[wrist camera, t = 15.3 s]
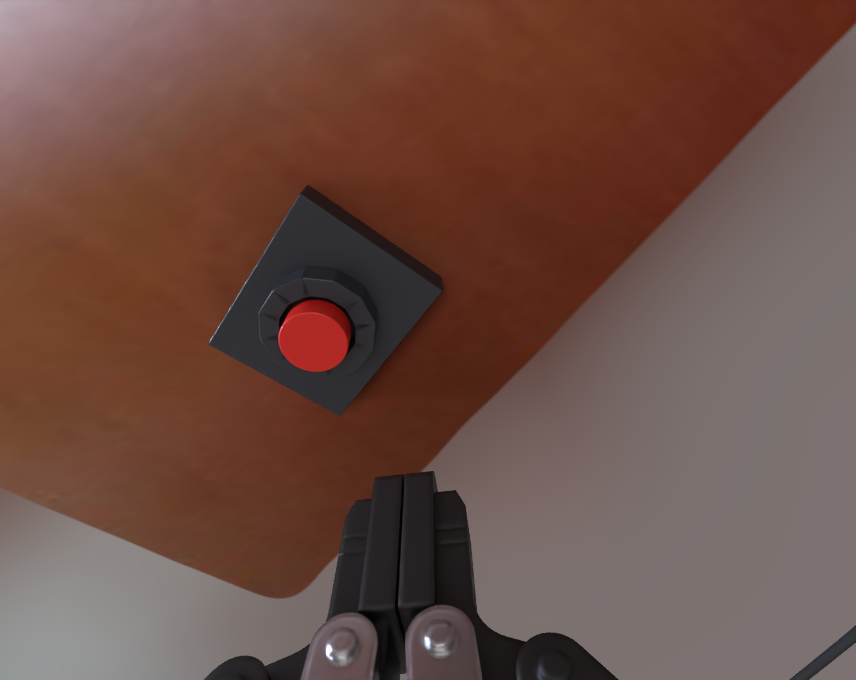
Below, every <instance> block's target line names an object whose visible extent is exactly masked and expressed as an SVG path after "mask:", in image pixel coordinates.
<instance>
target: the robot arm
mask: <svg viewBox="0 0 856 680" xmlns="http://www.w3.org/2000/svg"><path fill="white" fill-rule="evenodd" d="M339 552H340V555H339V556H338V562H337V568H336V573H335V579H334V584H333V590H332V596H331V601H330V607H329V613H328V617H327V620H326V622H325V623H324V624H323V625H322V626H321V627H320V628H319V629H318V631H317V632H316V633H315V635H314V637H313V639H312V641H311V643H310V644H309V645H307V646H306V647H305V648H303V649H302V650H300V651H299V652H296V653H294V654H292V655H290V656H288V657H285V658H283V659H281V660H278V661H276V662H274V663H271V664H269V665H267V666H264V665H263V663H262V662H261V661H260V660H258V659H257V658H254V657H251V656H239V657H235V658H232V659H229V660H227V661H226V662H224V663H222V664H221V665H219V666H218V667H217V668H216V669H214V670H213V671H212V672H211V673H210V674H209V675H208V676H207V677H206V678H205V679H204V680H400V674H405V673H406V678H407V680H618V679H617V678H616V677H615V676H614V675H613V674H612V673H610V672H609V671H608V670H607V669H606V668H605V667H604V666H603V665H602V664H600V663H599V662H598V661H597V660H596V659H595V658H594V657H593V656H592V655H590V654H589V653H588V652H587V651H586V650H585V649H584V648H583V647H582V646H580V645H579V644H578V643H577V642H575V641H574V640H573V639H571V638H569V637H567V636H565V635H562V634H558V633H541V634H538V635H536V636H534V637H532V638H530V639H529V640H528V641H527V642H525V641H521V640H517V639H513V638H509V637H506V636H503V635H501V634H498V633H497V632H494V631H493V630H491V629H490V628H489V627H487V625H486V624H485V623H484V622H483V621H482V620H481V618H480V617H479V615H478V613H477V606H476V595H475V584H474V573H473V562H472V551H471V542H470V535H469V528H468V520H467V513H466V506H465V504H464V503H463V501H462V499H461V498H460V496H459V495H458V493H457V492H456V490H453V491H443V492H438V491H437V485H436V479H435V474H434V471H430V472H420V473H410V474H405V475H404V474H402V475H392V476H382V477H376V478H375V480H374V487H373V495H372V499H365V500H356V502H355V503H354V505H353V506H352V508H351V510H350V511H349V513H348V514H347V516H346V517H345V523H344V528H343V534H342V540H341V545H340V551H339ZM854 643H856V626H854V627H853V628H852V629H851V630H850V631H849V632H847V633H846V634H845V635H844V636H843V637H841V638H840V639H839V640H838V641H837V642H836V643H834V644H833V645H832V646H830V647H829V648H828V649H827V650H826V651H824V652H823V653H822V654H821V655H819V656H818V657H817V658H816V659H814V660H813V661H812V662H811V663H810V664H808V665H807V666H806V667H805V668H804V669H802V670H801V671H800V672H798V673H797V674H796V675H795V676H793V677H792V678H791V679H790V680H809V679H810V678H812V677H813V676H814V675H815V674H817V673H818V672H819V671H820V670H822V669H823V668H824V667H825V666H827V665H828V664H829V663H831V662H832V661H833V660H834V659H836V658H837V657H838V656H839V655H841V654H842V653H843V652H844V651H846V650H847V649H848V648H849V647H851V646H852V645H853V644H854Z"/></svg>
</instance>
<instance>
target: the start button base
mask: <svg viewBox="0 0 856 680" xmlns="http://www.w3.org/2000/svg"><path fill="white" fill-rule="evenodd" d="M442 291H443V290H442V279H441V277H440V276H439V275H437V274H436V273H434V272H433V271H431V270H430V269H429V268H427V267H426V266H424V265H423V264H421V263H420V262H418V261H417V260H416V259H414V258H413V257H411V256H410V255H408V254H407V253H406V252H404V251H403V250H401V249H400V248H398V247H397V246H395V245H394V244H393V243H391V242H390V241H388V240H387V239H385V238H384V237H382V236H381V235H380V234H378V233H377V232H375V231H374V230H372V229H371V228H369V227H368V226H367V225H365V224H364V223H362V222H361V221H359V220H358V219H356V218H355V217H354V216H352V215H351V214H349V213H348V212H346V211H345V210H343V209H342V208H341V207H339V206H338V205H336V204H335V203H333V202H332V201H330V200H329V199H328V198H326V197H325V196H323V195H322V194H320V193H319V192H317V191H316V190H315V189H313V188H312V187H310V186H309V185H307V186H306V187H305V188H304V189H303V191H302V192H301V193H300V194H299V196H298V197H297V199H296V201H295V202H294V204H293V206H292V207H291V209H290V211H289V212H288V214H287V215H286V217H285V219H284V220H283V222H282V224H281V225H280V227H279V229H278V230H277V232H276V234H275V235H274V237H273V238H272V240H271V242H270V243H269V245H268V247H267V248H266V250H265V252H264V253H263V255H262V256H261V258H260V260H259V261H258V263H257V265H256V266H255V268H254V270H253V271H252V273H251V274H250V276H249V278H248V279H247V281H246V283H245V284H244V286H243V288H242V289H241V291H240V292H239V294H238V296H237V297H236V299H235V301H234V302H233V304H232V306H231V307H230V309H229V311H228V312H227V314H226V315H225V317H224V319H223V320H222V322H221V324H220V325H219V327H218V329H217V330H216V332H215V333H214V335H213V337H212V338H211V340H210V342H209V345H211V346H212V347H214V348H216V349H218V350H220V351H222V352H223V353H225V354H227V355H229V356H231V357H233V358H234V359H236V360H238V361H240V362H242V363H244V364H245V365H247V366H249V367H251V368H253V369H255V370H256V371H258V372H260V373H262V374H264V375H266V376H267V377H269V378H271V379H273V380H275V381H277V382H278V383H280V384H282V385H284V386H286V387H288V388H289V389H291V390H293V391H295V392H297V393H299V394H300V395H302V396H304V397H306V398H308V399H310V400H311V401H313V402H315V403H317V404H319V405H321V406H322V407H324V408H326V409H328V410H330V411H332V412H333V413H335V414H337V415H339V416H340V415H341V414H342V413H343V412H344V411H345V409H346V408H347V407H348V406H349V405H350V403H351V402H352V401H353V400H354V398H355V397H356V396H357V395H358V394H359V392H360V391H361V390H362V389H363V387H364V386H365V385H366V384H367V383H368V381H369V380H370V379H371V378H372V377H373V375H374V374H375V373H376V372H377V370H378V369H379V368H380V367H381V366H382V364H383V363H384V362H385V361H386V359H387V358H388V357H389V356H390V355H391V353H392V352H393V351H394V350H395V348H396V347H397V346H398V345H399V344H400V342H401V341H402V340H403V339H404V337H405V336H406V335H407V334H408V333H409V331H410V330H411V329H412V328H413V327H414V325H415V324H416V323H417V322H418V320H419V319H420V318H421V317H422V316H423V314H424V313H425V312H426V311H427V309H428V308H429V307H430V306H431V305H432V303H433V302H434V301H435V300H436V298H437V297H438V296H439V295H440V294H441V292H442ZM307 300H323V301H327V302H329V303H332V304H334V305H336V306H337V307H338V308H340V309H341V310H342V311H343V312H344V313H345V315H346V316H347V318H348V320H349V322H350V325H351V338H350V343H349V347H348V351H347V354H346V356H345V358H344V359H343V361H342V362H341V363H340V364H338V365H337V366H336V367H334V368H332V369H330V370H327V371H321V372H312V371H307V370H303V369H301V368H299V367H297V366H295V365H293V364H292V363H291V362H290V361H288V359H287V358H286V357H285V356H284V355H283V353H282V351H281V349H280V345H279V331H280V329H281V327H282V325H283V323H284V321H285V319H286V317H287V315H288V313H289V312H290V310H291V309H292V308H293V307H294V306H296V305H297V304H299V303H301V302H304V301H307Z"/></svg>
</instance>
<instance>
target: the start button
mask: <svg viewBox="0 0 856 680" xmlns="http://www.w3.org/2000/svg"><path fill="white" fill-rule="evenodd" d="M350 338H351V325H350V322H349V320H348V318H347V316H346V315H345V313H344V312H343V311H342V310H341V309H340V308H338V307H337V306H336V305H334V304H332V303H329V302H327V301H323V300H307V301H304V302H301V303H299V304H297V305H296V306H294V307H293V308H292V309H291V310H290V312H289V313H288V315H287V317H286V319H285V321H284V323H283V325H282V327H281V329H280V331H279V345H280V349H281V351H282V353H283V355H284V356H285V357H286V358H287V359H288V361H290V362H291V363H292V364H293V365H295V366H297V367H299V368H301V369H303V370H307V371H312V372H321V371H327V370H330V369H332V368H334V367H336V366H337V365H338V364H340V363H341V362H342V361H343V359H344V358H345V356H346V354H347V351H348V347H349V343H350Z"/></svg>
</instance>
